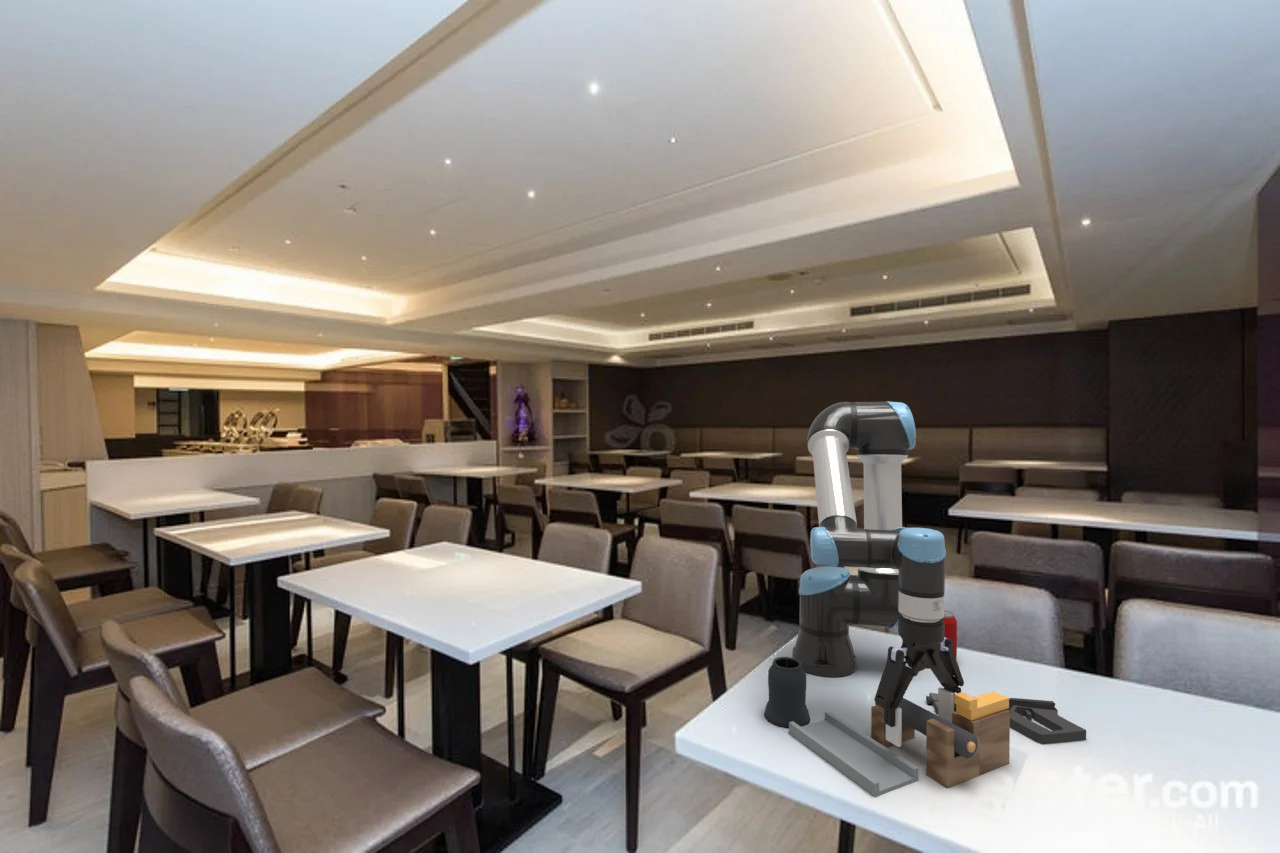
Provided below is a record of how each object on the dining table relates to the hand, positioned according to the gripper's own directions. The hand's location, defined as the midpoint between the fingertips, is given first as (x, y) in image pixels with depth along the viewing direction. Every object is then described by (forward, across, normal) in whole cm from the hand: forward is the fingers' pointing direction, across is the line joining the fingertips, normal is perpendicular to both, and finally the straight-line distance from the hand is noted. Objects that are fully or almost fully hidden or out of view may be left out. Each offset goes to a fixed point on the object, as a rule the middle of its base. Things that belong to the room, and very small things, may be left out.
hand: (920, 734), depth 106 cm
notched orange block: (-6, +7, -6) cm, 11 cm away
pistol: (+4, +25, +1) cm, 25 cm away
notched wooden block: (+4, +4, -6) cm, 9 cm away
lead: (-1, 0, 0) cm, 1 cm away
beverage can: (+4, +40, +27) cm, 48 cm away
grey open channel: (+4, -11, +6) cm, 13 cm away
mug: (+4, -12, +22) cm, 26 cm away
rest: (+4, 0, +6) cm, 7 cm away
